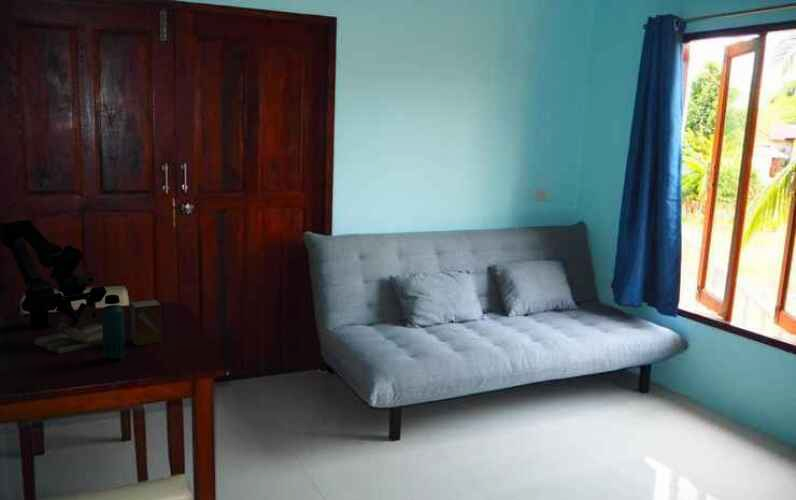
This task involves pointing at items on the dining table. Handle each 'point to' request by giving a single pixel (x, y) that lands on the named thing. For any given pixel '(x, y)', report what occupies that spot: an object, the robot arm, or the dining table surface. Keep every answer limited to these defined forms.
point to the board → (70, 340)
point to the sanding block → (78, 324)
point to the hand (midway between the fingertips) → (86, 319)
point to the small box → (146, 322)
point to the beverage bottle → (113, 328)
